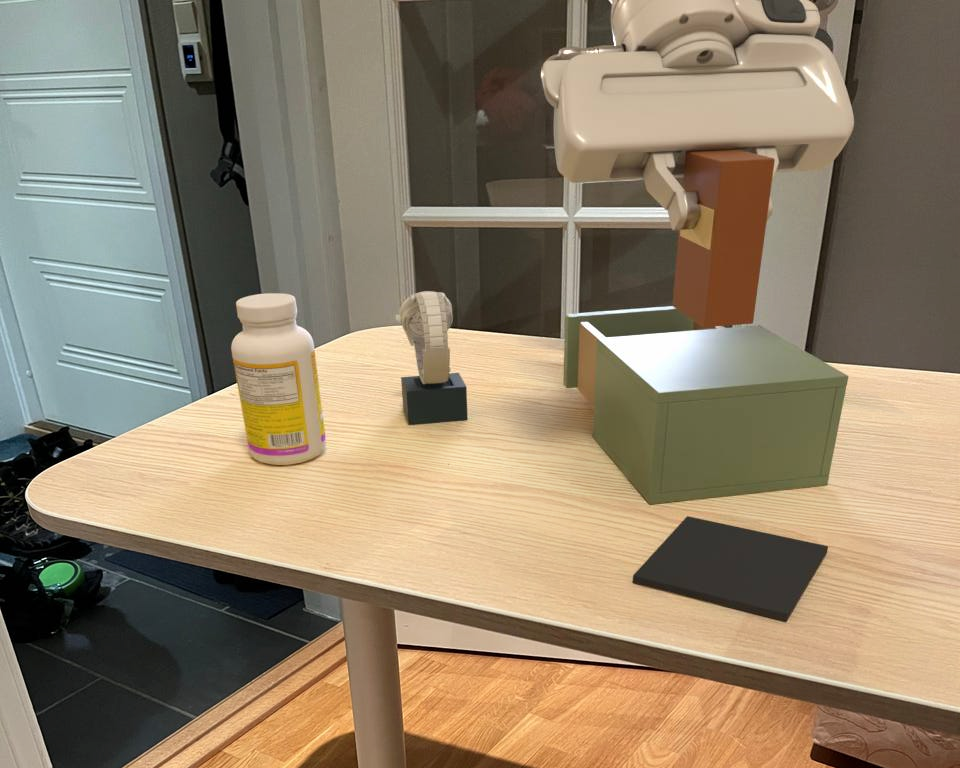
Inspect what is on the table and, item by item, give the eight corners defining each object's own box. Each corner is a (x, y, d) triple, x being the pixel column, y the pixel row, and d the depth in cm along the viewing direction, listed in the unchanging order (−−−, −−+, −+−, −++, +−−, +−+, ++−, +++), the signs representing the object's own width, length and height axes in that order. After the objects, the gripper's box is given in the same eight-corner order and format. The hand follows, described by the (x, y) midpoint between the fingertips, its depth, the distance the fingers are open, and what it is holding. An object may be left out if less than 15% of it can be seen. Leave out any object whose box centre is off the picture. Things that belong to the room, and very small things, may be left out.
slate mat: (827, 553, 63) (828, 545, 63) (786, 622, 56) (788, 613, 56) (686, 523, 68) (687, 515, 68) (632, 583, 61) (632, 575, 60)
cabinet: (592, 436, 83) (596, 338, 78) (746, 421, 85) (760, 325, 80) (649, 504, 71) (658, 393, 66) (827, 485, 73) (849, 375, 68)
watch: (456, 398, 92) (452, 281, 86) (470, 426, 85) (467, 301, 79) (400, 402, 91) (391, 285, 85) (409, 431, 85) (401, 306, 79)
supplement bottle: (288, 433, 85) (267, 286, 78) (342, 448, 82) (326, 295, 75) (233, 457, 80) (205, 303, 73) (288, 473, 77) (264, 314, 70)
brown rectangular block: (671, 306, 68) (684, 151, 62) (718, 302, 68) (735, 148, 63) (703, 327, 63) (721, 161, 57) (754, 323, 63) (776, 158, 58)
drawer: (551, 372, 95) (553, 303, 92) (676, 361, 97) (682, 293, 94) (605, 432, 81) (609, 353, 77) (749, 418, 83) (760, 341, 79)
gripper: (544, 9, 60) (582, 198, 57) (839, 2, 63) (888, 181, 60) (528, 87, 66) (561, 261, 63) (797, 77, 69) (840, 242, 66)
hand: (723, 222), depth 62 cm, fingers closed on brown rectangular block, 4 cm apart
